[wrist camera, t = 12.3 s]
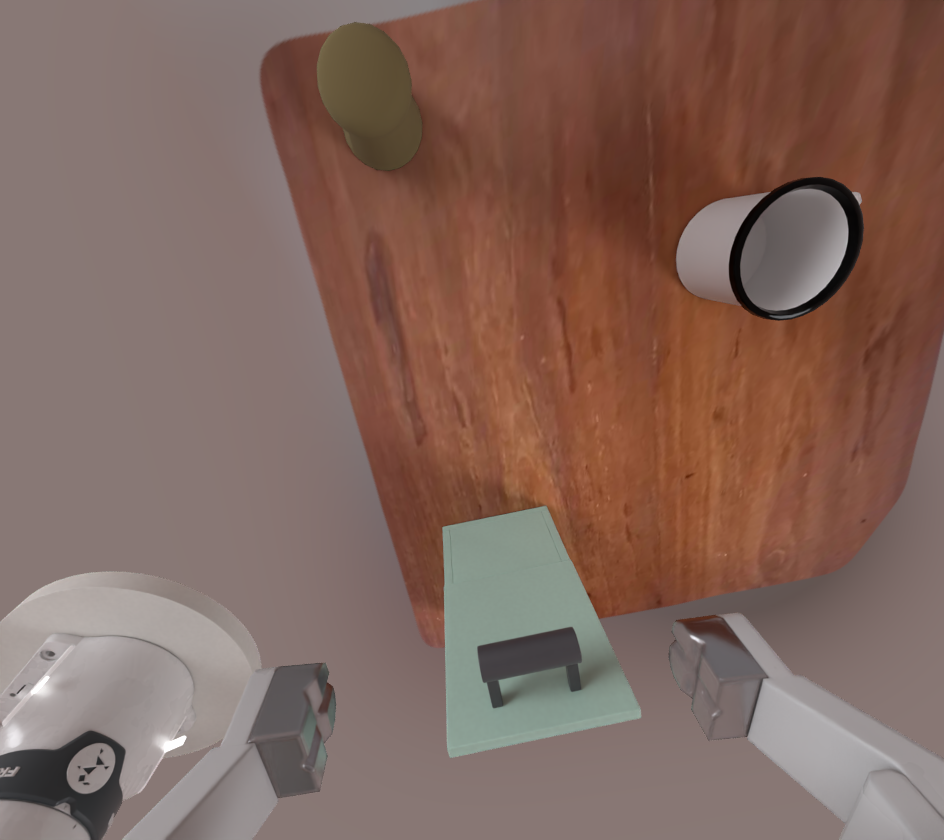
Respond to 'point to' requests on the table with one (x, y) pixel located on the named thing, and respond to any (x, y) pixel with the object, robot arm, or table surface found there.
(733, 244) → the mug
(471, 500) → the table surface
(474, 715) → the lid
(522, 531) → the light green open box
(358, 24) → the brown pawn
